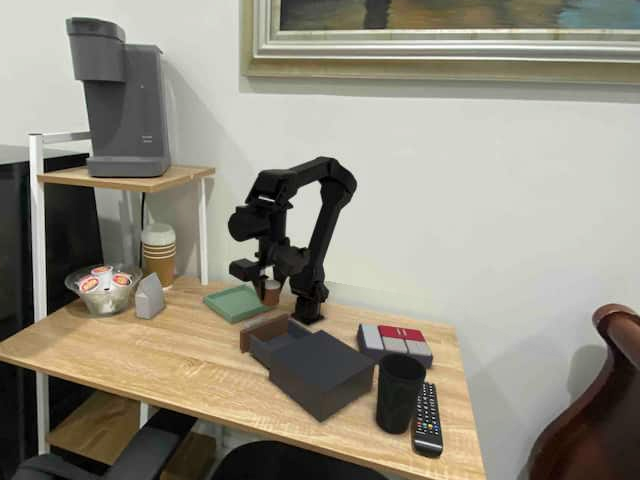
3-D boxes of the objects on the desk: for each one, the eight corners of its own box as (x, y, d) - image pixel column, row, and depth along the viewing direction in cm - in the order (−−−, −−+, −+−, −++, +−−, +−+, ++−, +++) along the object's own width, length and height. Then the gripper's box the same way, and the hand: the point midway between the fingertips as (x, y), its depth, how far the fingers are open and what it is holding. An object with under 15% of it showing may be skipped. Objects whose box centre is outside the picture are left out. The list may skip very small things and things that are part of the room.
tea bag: (163, 307, 104) (161, 273, 101) (149, 319, 98) (146, 283, 95) (151, 305, 105) (149, 270, 102) (136, 316, 99) (133, 280, 96)
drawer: (229, 340, 90) (229, 322, 88) (273, 323, 98) (274, 306, 96) (278, 380, 77) (279, 360, 76) (325, 357, 86) (327, 338, 84)
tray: (244, 289, 117) (244, 283, 117) (274, 308, 107) (275, 301, 107) (203, 302, 108) (203, 295, 108) (231, 323, 98) (231, 316, 98)
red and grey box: (435, 355, 84) (365, 345, 84) (430, 371, 85) (361, 362, 86) (421, 328, 94) (359, 320, 94) (417, 343, 95) (356, 335, 96)
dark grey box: (268, 379, 79) (270, 352, 76) (319, 354, 88) (321, 329, 86) (320, 423, 69) (324, 392, 66) (371, 389, 78) (376, 361, 75)
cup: (364, 407, 73) (373, 353, 69) (404, 406, 74) (415, 352, 69) (377, 440, 66) (388, 381, 61) (421, 438, 66) (434, 381, 62)
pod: (270, 295, 91) (271, 277, 90) (283, 302, 88) (284, 284, 86) (255, 300, 88) (256, 282, 87) (268, 308, 85) (269, 289, 84)
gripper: (262, 251, 71) (259, 325, 76) (330, 234, 83) (323, 299, 88) (227, 235, 78) (227, 304, 84) (294, 221, 90) (290, 282, 96)
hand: (269, 297), depth 88 cm, fingers closed on pod, 4 cm apart
